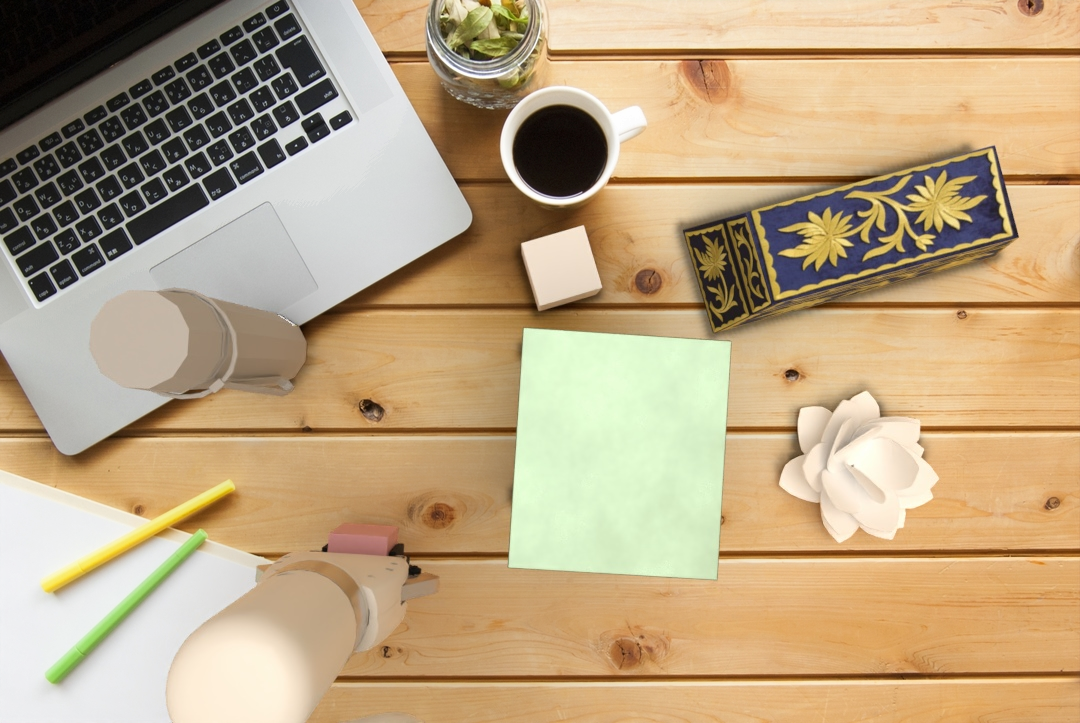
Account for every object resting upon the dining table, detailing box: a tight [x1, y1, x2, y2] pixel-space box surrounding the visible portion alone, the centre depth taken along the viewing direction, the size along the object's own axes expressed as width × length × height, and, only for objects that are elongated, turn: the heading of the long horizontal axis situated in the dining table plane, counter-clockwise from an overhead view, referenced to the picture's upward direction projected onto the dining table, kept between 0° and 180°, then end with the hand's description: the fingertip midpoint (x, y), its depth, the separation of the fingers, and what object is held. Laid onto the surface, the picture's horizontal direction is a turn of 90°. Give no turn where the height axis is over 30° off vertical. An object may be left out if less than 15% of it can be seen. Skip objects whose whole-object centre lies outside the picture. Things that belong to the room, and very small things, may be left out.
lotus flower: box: [778, 390, 940, 544], centre depth 69 cm, size 14×15×9 cm
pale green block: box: [507, 326, 733, 581], centre depth 61 cm, size 16×14×24 cm
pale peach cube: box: [520, 224, 603, 312], centre depth 70 cm, size 6×6×6 cm
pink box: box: [327, 522, 399, 556], centre depth 64 cm, size 6×5×5 cm
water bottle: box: [88, 286, 308, 400], centre depth 60 cm, size 9×8×25 cm
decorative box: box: [682, 144, 1020, 334], centre depth 69 cm, size 11×30×9 cm, turn 105°
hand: (367, 558), depth 66 cm, fingers closed on pink box, 5 cm apart
